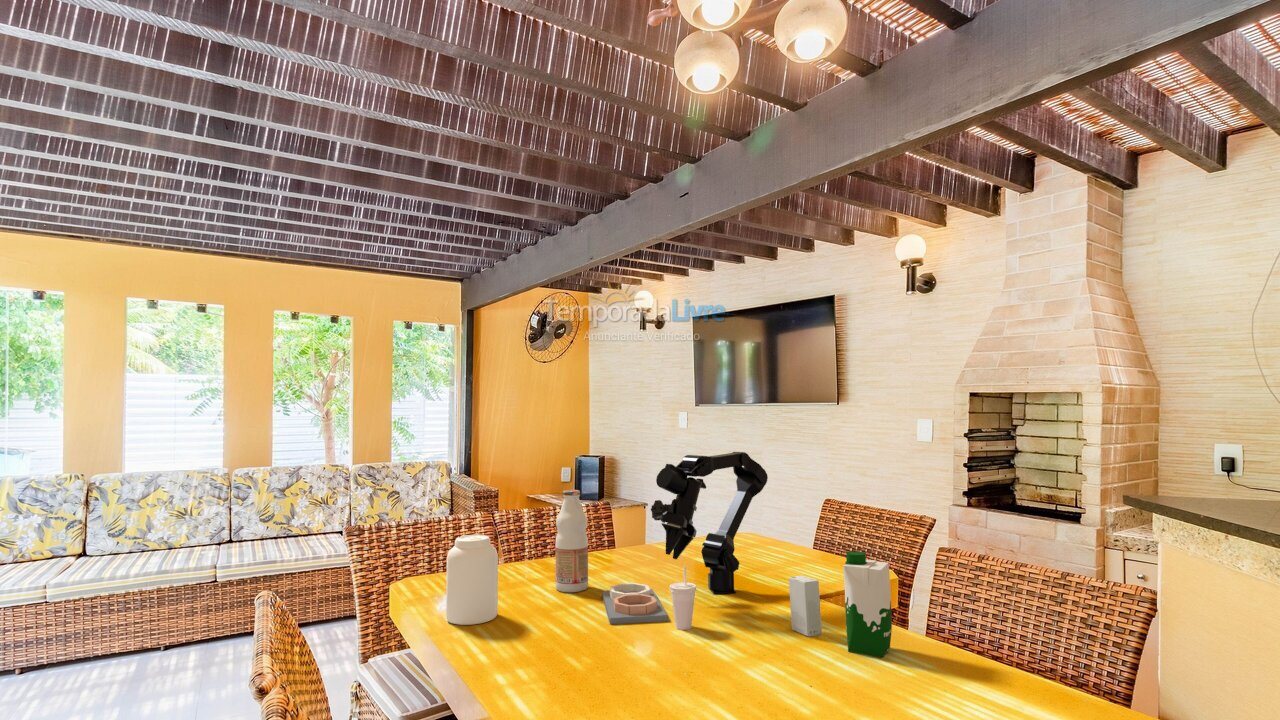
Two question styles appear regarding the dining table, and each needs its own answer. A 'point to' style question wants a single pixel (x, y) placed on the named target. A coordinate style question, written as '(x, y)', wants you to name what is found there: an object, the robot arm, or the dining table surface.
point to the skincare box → (805, 605)
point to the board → (632, 604)
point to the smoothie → (683, 603)
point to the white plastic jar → (472, 581)
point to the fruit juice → (571, 545)
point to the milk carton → (867, 605)
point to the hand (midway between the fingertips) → (671, 556)
